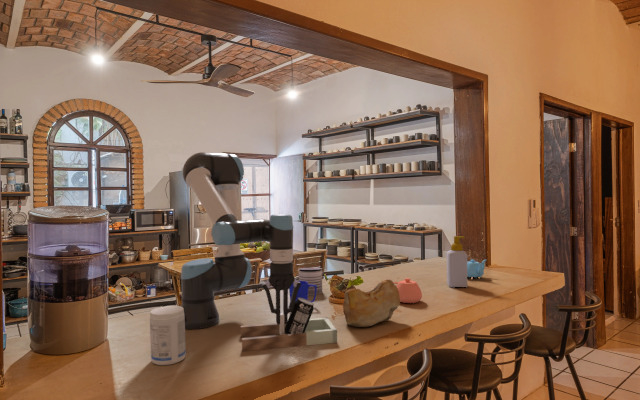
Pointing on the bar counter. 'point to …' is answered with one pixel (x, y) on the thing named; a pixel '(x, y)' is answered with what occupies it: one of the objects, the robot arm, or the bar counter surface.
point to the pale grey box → (320, 332)
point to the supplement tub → (167, 335)
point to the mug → (303, 290)
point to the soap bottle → (457, 265)
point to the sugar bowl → (409, 291)
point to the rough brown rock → (371, 304)
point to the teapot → (475, 268)
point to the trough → (269, 337)
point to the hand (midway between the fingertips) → (281, 333)
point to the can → (312, 279)
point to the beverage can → (299, 317)
